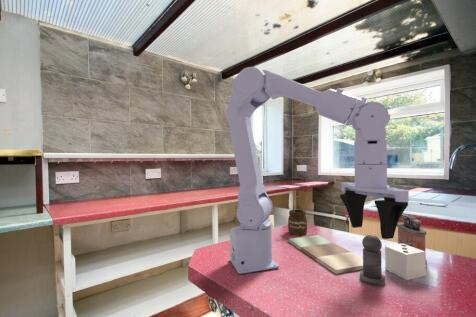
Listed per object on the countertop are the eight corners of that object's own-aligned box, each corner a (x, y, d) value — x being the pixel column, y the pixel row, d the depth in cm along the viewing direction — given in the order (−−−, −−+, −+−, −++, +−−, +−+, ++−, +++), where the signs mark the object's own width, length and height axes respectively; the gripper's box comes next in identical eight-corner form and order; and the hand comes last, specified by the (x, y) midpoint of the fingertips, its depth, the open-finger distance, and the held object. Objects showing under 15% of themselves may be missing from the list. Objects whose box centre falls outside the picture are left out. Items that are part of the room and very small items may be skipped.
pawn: (372, 287, 47) (371, 239, 46) (354, 277, 51) (354, 233, 51) (390, 284, 48) (390, 237, 48) (372, 273, 52) (371, 230, 52)
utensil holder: (288, 229, 84) (287, 194, 84) (307, 230, 83) (306, 194, 83) (288, 235, 78) (287, 197, 78) (308, 236, 77) (308, 197, 77)
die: (406, 279, 49) (406, 254, 49) (385, 269, 54) (385, 245, 54) (425, 275, 51) (425, 251, 51) (403, 265, 55) (402, 243, 55)
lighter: (431, 265, 55) (430, 220, 55) (415, 265, 55) (415, 221, 55) (407, 251, 63) (406, 212, 63) (393, 251, 63) (393, 212, 63)
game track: (335, 273, 52) (335, 270, 52) (288, 241, 72) (288, 238, 72) (374, 267, 55) (374, 263, 55) (318, 237, 75) (317, 235, 75)
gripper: (421, 164, 44) (422, 241, 44) (359, 162, 58) (359, 221, 58) (390, 165, 42) (391, 246, 42) (333, 163, 56) (334, 224, 56)
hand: (371, 232), depth 50 cm, fingers open, 7 cm apart
